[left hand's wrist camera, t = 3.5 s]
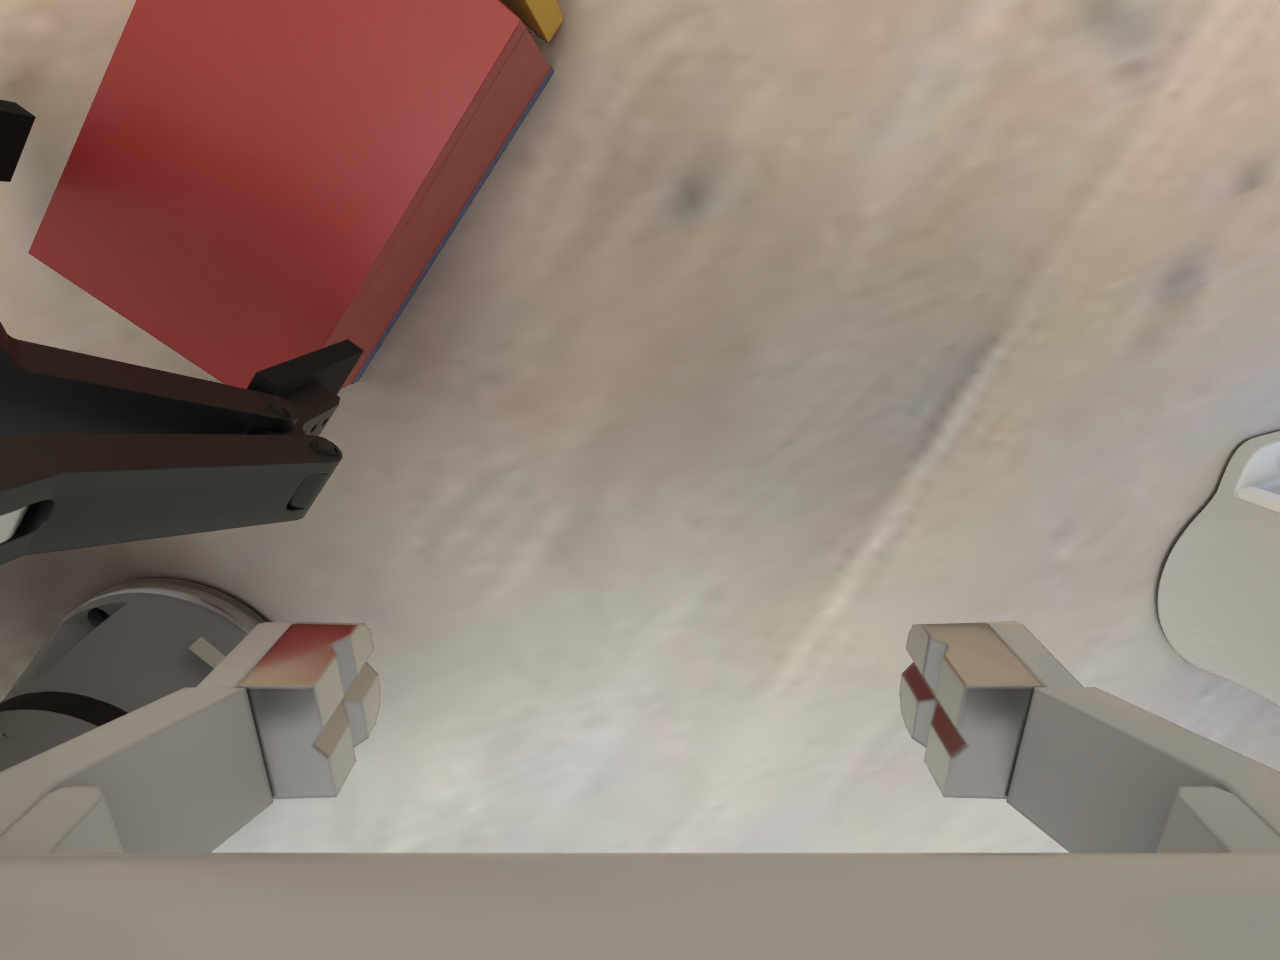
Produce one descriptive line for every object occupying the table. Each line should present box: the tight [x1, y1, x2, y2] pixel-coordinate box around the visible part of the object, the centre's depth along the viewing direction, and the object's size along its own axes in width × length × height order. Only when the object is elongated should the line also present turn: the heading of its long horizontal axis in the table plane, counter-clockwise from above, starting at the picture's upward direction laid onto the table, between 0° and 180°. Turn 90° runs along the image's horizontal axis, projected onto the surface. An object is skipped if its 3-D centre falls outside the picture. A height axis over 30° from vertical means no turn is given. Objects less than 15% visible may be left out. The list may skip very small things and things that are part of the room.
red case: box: [29, 0, 554, 389], centre depth 29 cm, size 19×11×8 cm, turn 142°
